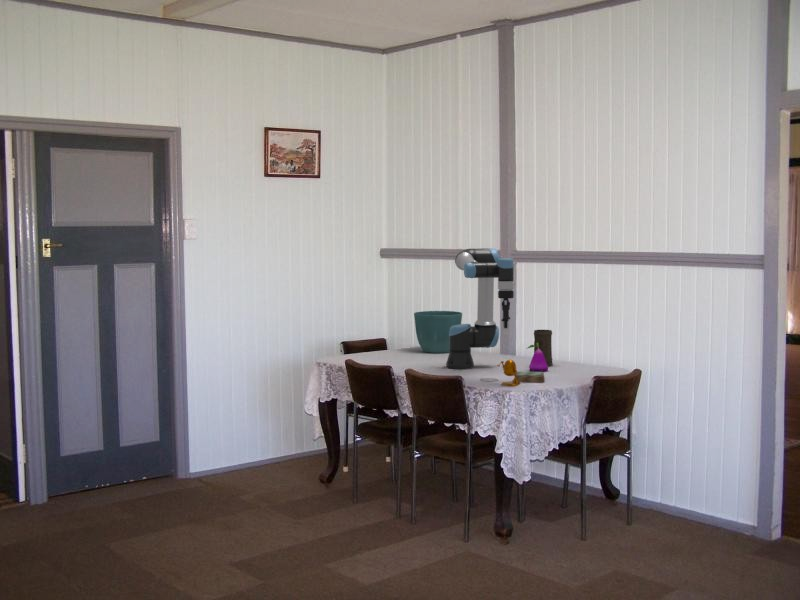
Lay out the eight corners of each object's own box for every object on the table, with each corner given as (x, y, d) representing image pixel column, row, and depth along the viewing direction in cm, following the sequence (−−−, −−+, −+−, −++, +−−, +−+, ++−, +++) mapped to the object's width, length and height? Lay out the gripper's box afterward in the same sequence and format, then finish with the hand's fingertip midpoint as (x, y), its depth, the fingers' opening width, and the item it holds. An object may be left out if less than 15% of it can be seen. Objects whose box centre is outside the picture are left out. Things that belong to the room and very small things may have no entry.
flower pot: (464, 354, 544) (464, 314, 542) (415, 354, 544) (414, 315, 542) (460, 348, 574) (460, 310, 572) (413, 348, 573) (413, 311, 572)
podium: (515, 382, 439) (515, 375, 438) (515, 377, 453) (515, 371, 452) (544, 382, 437) (544, 375, 437) (543, 378, 451) (543, 371, 450)
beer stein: (552, 367, 488) (552, 330, 488) (532, 366, 490) (532, 330, 490) (553, 365, 503) (553, 329, 503) (533, 364, 505) (534, 329, 505)
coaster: (479, 382, 442) (479, 380, 442) (480, 379, 450) (480, 377, 450) (497, 382, 440) (497, 380, 440) (498, 379, 449) (498, 378, 449)
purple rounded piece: (545, 369, 482) (545, 341, 481) (552, 372, 471) (552, 343, 470) (524, 369, 480) (525, 341, 479) (531, 372, 469) (531, 344, 468)
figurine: (496, 384, 432) (496, 359, 431) (511, 382, 439) (511, 357, 438) (509, 386, 425) (509, 361, 424) (525, 384, 432) (525, 359, 431)
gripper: (513, 290, 423) (513, 335, 424) (513, 289, 448) (514, 331, 449) (497, 291, 424) (497, 335, 425) (498, 289, 449) (498, 331, 450)
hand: (506, 333), depth 437 cm, fingers open, 13 cm apart
